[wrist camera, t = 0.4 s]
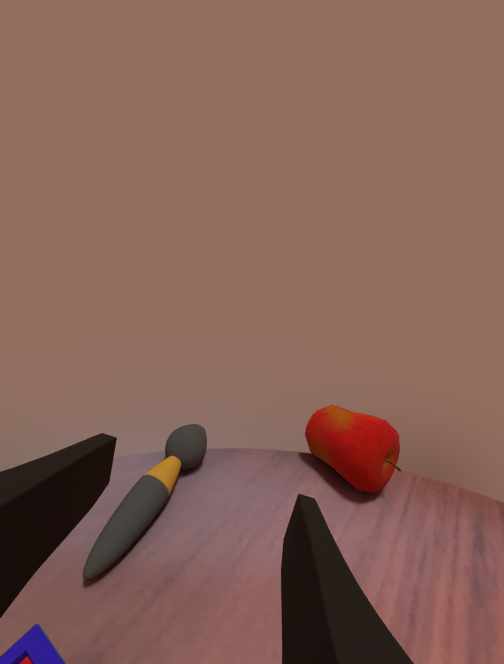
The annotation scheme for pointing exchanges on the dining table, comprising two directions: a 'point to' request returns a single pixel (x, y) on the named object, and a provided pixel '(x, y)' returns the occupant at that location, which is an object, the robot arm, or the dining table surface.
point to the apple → (354, 446)
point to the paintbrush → (146, 499)
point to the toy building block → (32, 649)
